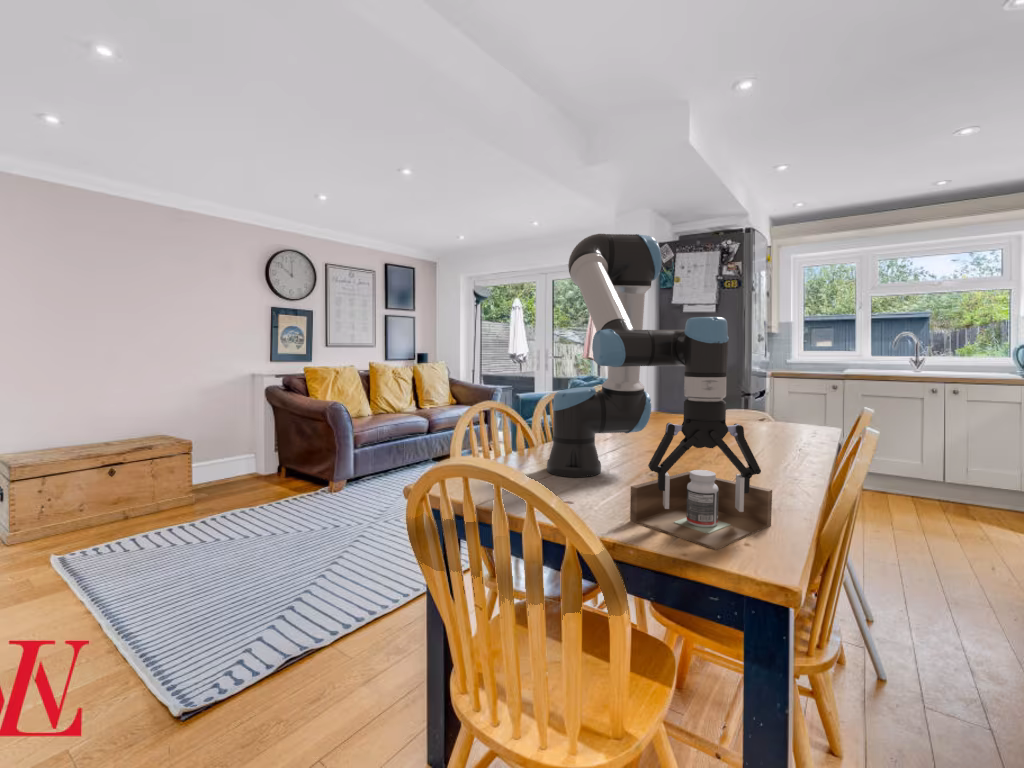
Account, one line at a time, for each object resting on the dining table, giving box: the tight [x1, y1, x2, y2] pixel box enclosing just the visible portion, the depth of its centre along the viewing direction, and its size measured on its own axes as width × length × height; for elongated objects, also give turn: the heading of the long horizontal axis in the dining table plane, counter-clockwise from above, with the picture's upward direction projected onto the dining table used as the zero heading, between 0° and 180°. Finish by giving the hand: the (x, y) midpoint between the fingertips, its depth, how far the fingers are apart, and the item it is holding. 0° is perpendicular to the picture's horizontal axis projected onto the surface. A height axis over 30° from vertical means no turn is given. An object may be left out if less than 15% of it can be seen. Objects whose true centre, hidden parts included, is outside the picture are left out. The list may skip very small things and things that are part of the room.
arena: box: [629, 471, 773, 550], centre depth 99 cm, size 18×20×7 cm
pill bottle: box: [687, 469, 718, 527], centre depth 97 cm, size 6×6×10 cm
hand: (702, 508), depth 97 cm, fingers open, 13 cm apart
